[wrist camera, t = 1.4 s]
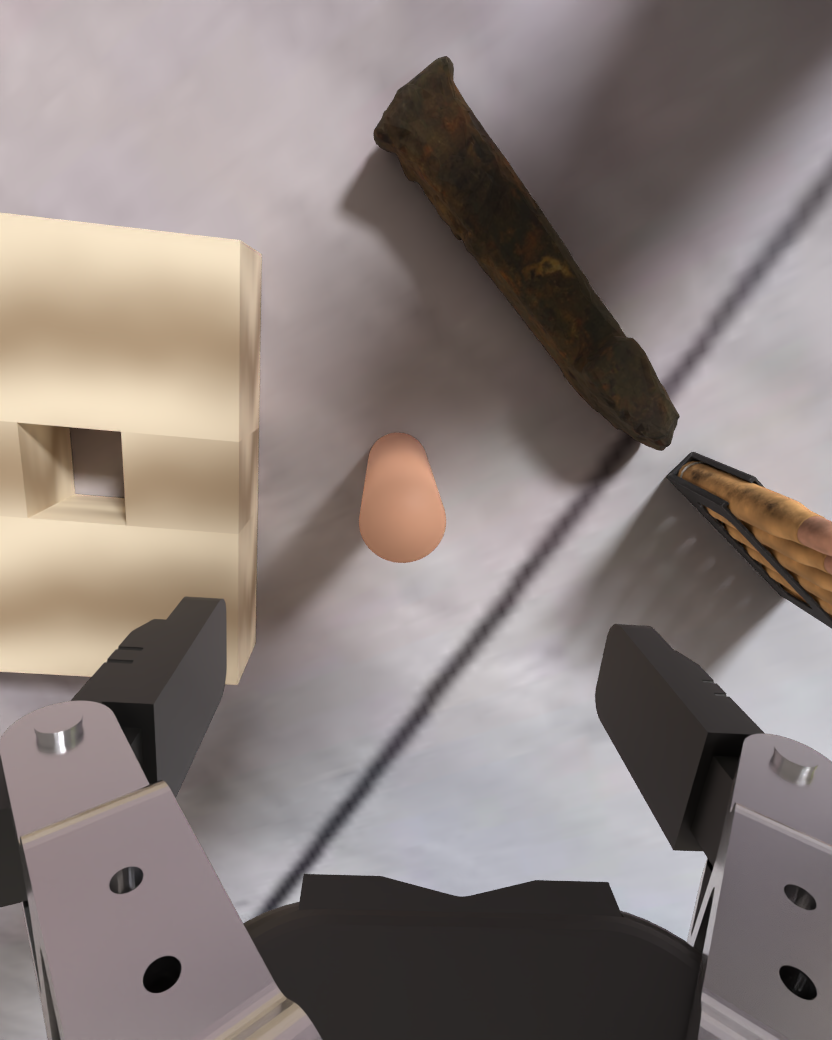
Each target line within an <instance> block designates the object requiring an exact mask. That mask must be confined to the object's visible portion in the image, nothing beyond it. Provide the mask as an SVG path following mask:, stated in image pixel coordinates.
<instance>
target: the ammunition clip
mask: <svg viewBox="0 0 832 1040" xmlns="http://www.w3.org/2000/svg"><path fill="white" fill-rule="evenodd" d="M667 478H668V479H669V480H670V481H671V482H672V483H673V485H674V486H675V487H676V488H677V489H678V490H679V491H680V492H681V493H682V494H683V495H684V496H685V497H686V498H687V499H688V500H689V501H690V502H691V503H692V504H693V505H694V506H695V507H696V508H697V509H698V510H699V511H700V512H701V513H702V514H703V516H704V517H705V518H706V519H707V520H708V521H709V522H710V523H711V524H712V525H713V526H714V527H715V528H716V529H717V530H718V531H719V532H720V533H721V534H722V535H723V536H724V537H725V538H726V539H727V540H728V541H729V542H730V543H731V544H732V545H733V547H734V548H735V549H736V550H737V551H738V552H739V553H740V554H741V555H742V556H743V557H744V558H745V559H746V560H747V561H748V562H749V563H750V564H751V565H752V566H753V567H754V568H755V569H756V570H757V571H758V572H759V573H760V574H761V575H762V576H763V578H764V579H765V580H766V581H767V582H768V583H769V584H770V585H771V586H772V587H773V588H774V589H775V590H776V591H777V592H778V593H779V594H780V595H781V596H782V597H784V598H786V599H787V600H789V601H790V602H792V603H793V604H795V605H796V606H798V607H799V608H801V609H803V610H804V611H806V612H807V613H809V614H810V615H812V616H813V617H815V618H816V619H818V620H819V621H821V622H823V623H824V624H826V625H827V626H829V627H830V628H832V522H831V521H829V520H827V519H825V518H824V517H822V516H820V515H818V514H816V513H814V512H812V511H810V510H809V509H808V508H806V507H805V506H804V505H802V504H801V503H799V502H797V501H795V500H793V499H791V498H788V497H786V496H783V495H781V494H779V493H776V492H774V491H771V490H769V489H766V488H765V487H764V486H763V485H762V484H761V483H760V482H759V481H758V480H757V478H756V477H754V476H752V475H749V474H747V473H744V472H742V471H739V470H737V469H734V468H732V467H730V466H727V465H725V464H722V463H720V462H717V461H715V460H712V459H710V458H708V457H705V456H703V455H700V454H698V453H695V452H691V453H690V454H689V455H688V456H687V457H686V458H685V459H684V460H683V461H682V462H681V463H680V464H679V465H678V466H677V467H676V468H675V469H674V470H673V471H672V472H671V473H669V474H668V476H667Z"/></svg>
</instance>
